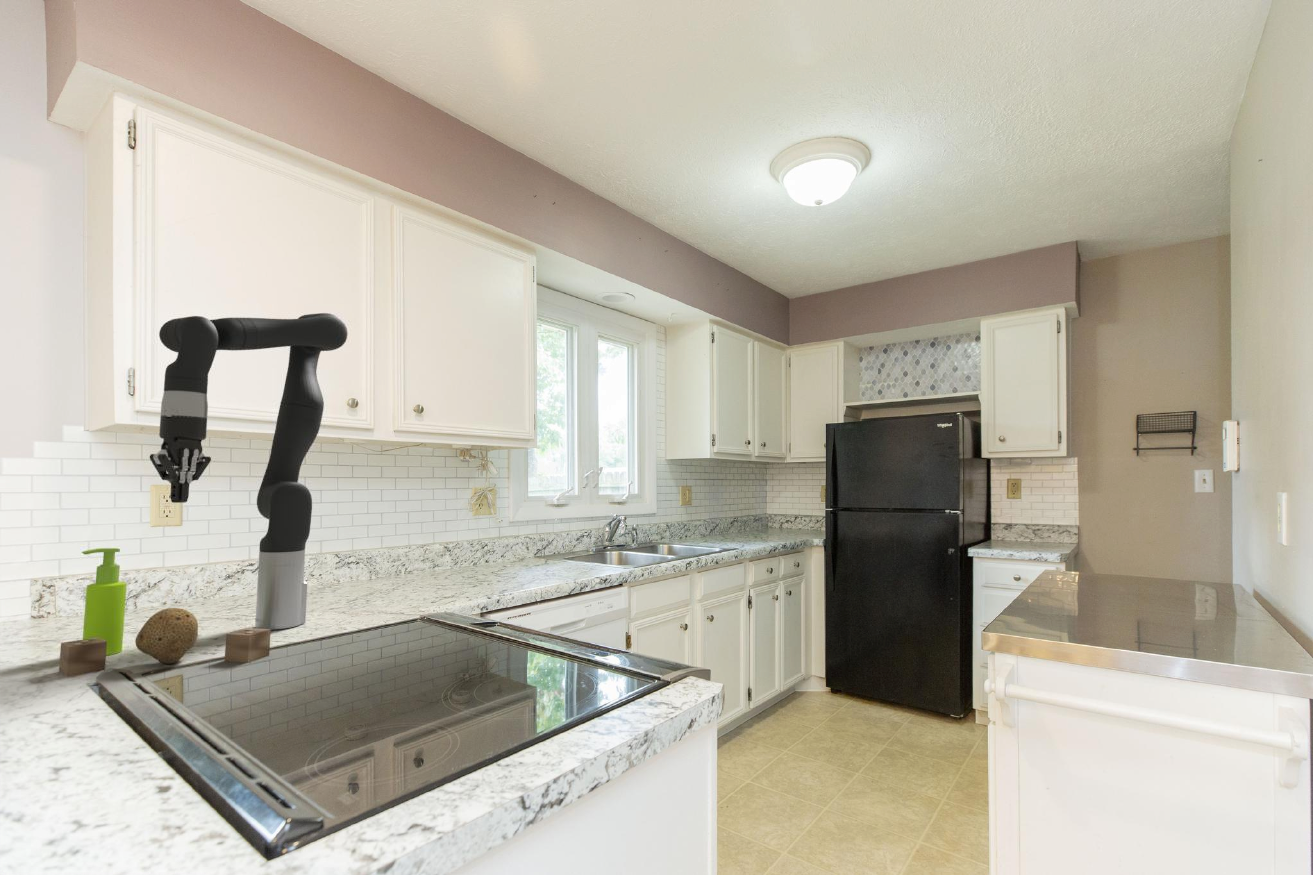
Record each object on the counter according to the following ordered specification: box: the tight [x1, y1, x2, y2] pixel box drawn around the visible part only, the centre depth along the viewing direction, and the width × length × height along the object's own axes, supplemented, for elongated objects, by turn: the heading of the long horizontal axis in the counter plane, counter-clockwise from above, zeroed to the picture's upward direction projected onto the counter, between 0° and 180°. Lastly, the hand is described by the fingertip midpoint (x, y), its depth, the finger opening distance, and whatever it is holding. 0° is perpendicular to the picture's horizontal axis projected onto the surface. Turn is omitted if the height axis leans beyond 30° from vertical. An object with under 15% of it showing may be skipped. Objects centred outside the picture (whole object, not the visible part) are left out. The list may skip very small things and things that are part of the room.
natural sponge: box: [135, 607, 199, 665], centre depth 115 cm, size 9×9×10 cm
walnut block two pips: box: [224, 627, 272, 664], centre depth 119 cm, size 5×5×5 cm
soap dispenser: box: [81, 547, 128, 657], centre depth 122 cm, size 6×7×20 cm
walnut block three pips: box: [58, 638, 107, 678], centre depth 111 cm, size 5×5×5 cm
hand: (179, 502), depth 126 cm, fingers closed
